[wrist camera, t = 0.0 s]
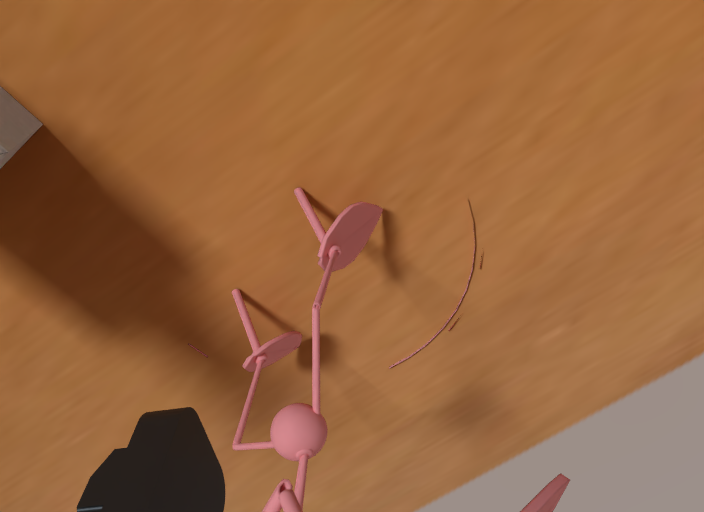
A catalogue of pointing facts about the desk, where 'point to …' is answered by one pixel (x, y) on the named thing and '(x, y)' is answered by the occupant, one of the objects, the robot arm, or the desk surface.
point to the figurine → (302, 419)
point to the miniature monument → (14, 126)
